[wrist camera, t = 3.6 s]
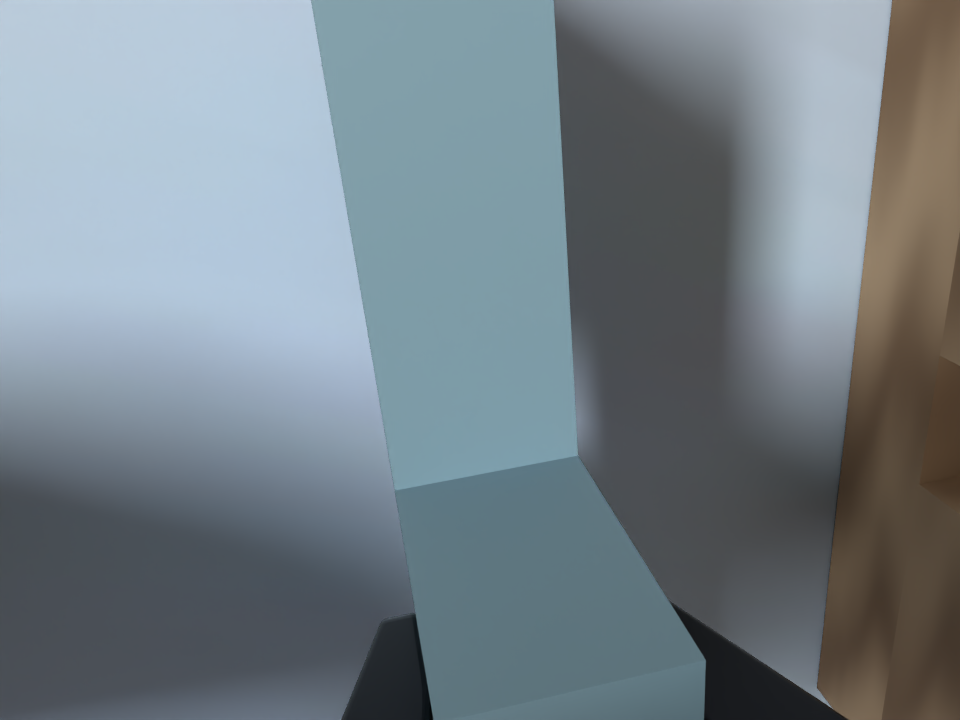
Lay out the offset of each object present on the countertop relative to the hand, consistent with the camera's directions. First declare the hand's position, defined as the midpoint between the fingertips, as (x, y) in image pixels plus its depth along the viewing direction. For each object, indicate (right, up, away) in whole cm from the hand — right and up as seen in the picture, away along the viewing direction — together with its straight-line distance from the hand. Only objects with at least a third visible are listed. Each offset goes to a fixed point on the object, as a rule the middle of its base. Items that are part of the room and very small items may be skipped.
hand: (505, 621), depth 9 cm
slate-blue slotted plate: (-1, +2, +5) cm, 5 cm away
